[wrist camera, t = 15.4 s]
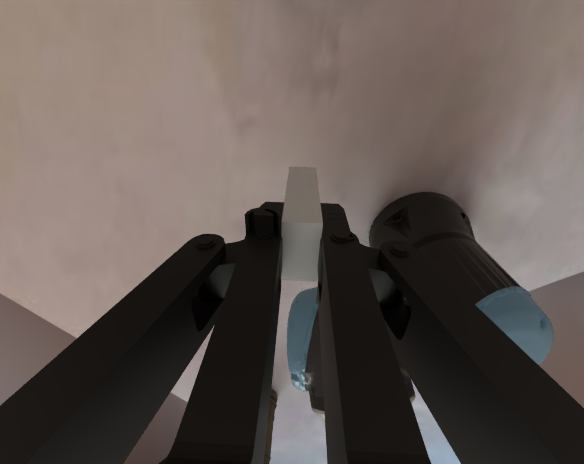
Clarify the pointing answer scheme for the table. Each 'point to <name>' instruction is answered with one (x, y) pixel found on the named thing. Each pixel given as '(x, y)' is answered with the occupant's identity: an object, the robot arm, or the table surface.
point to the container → (270, 427)
